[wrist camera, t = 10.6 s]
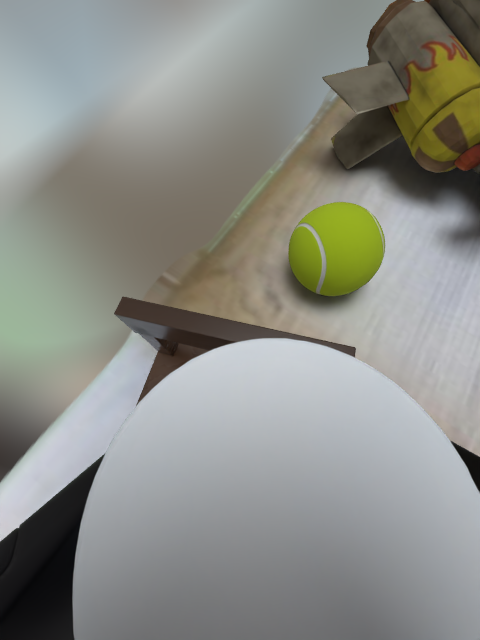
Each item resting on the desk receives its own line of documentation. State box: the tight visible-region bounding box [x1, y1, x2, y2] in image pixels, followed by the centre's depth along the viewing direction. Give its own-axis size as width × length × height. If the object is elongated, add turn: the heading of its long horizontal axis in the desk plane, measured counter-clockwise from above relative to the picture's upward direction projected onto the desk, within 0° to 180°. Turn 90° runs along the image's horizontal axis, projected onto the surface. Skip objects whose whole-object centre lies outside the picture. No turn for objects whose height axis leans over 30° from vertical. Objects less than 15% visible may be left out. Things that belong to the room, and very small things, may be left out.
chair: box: [114, 297, 356, 406], centre depth 15 cm, size 10×11×10 cm
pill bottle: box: [72, 338, 480, 640], centre depth 8 cm, size 6×6×12 cm
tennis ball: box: [289, 202, 385, 296], centre depth 21 cm, size 7×7×7 cm
